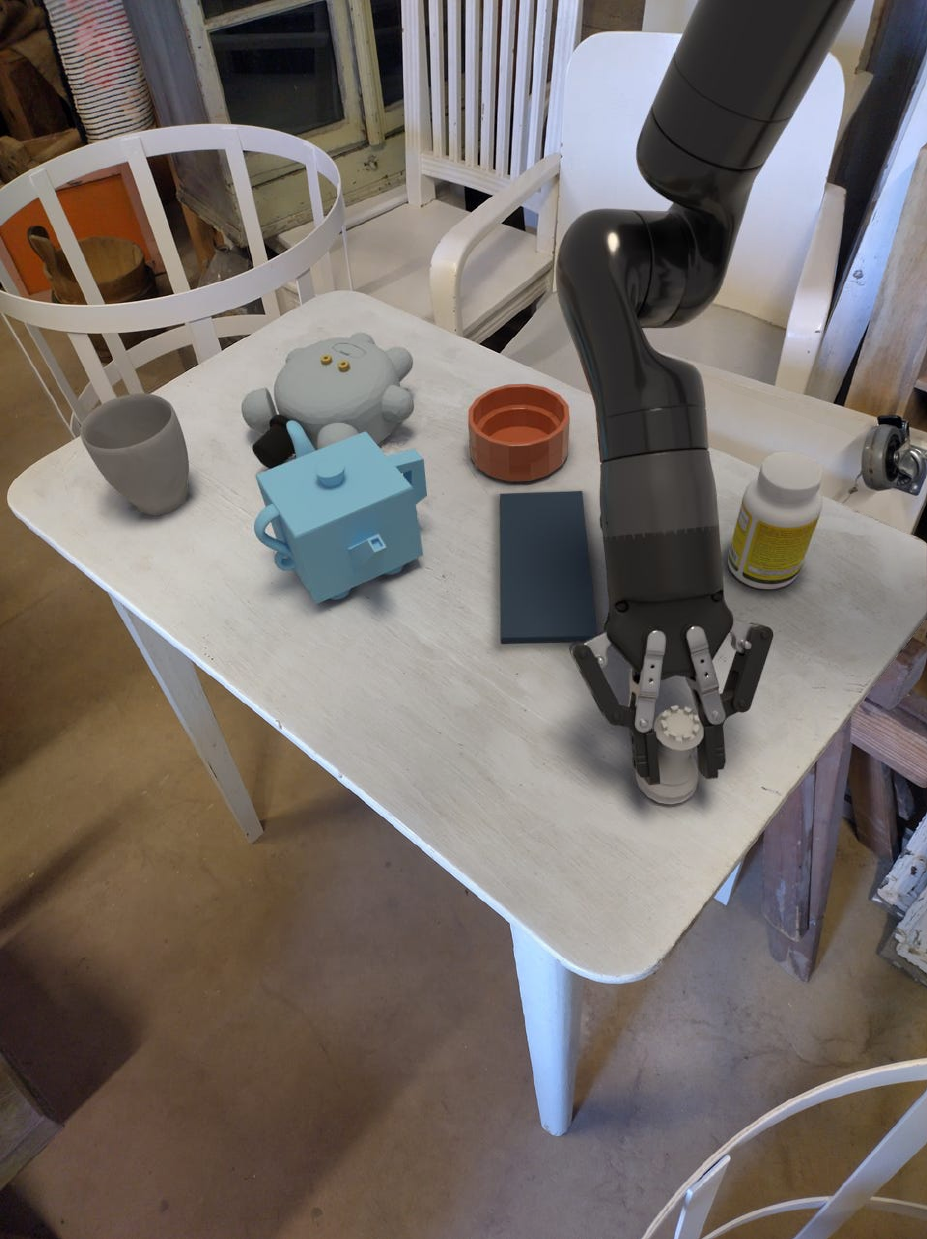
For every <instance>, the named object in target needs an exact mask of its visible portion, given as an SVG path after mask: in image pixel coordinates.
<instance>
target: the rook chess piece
mask: <svg viewBox="0 0 927 1239" xmlns="http://www.w3.org/2000/svg"><path fill="white" fill-rule="evenodd" d="M692 711H693V709H692V708H690V707H689V706H686V705H685V706H684V708H683V709H682V708H679V705H672V706H670V708H669V709H665V710H664V711H662V712H661V713H659V714H658V715H657V717H656V718H655V720H654V721H653V730H654V731H655V732H656V736H657V748H658V760H659V772H660V784H659V785H650V786H649V785H648V784H647V782H646V781H645V780H644V778H641V777H640V776H639V775H638V773H637V772H636V771H635V779H636V782H637V785H638V788H639V789H640V790H641V791H642V793H644V795H646V797H647V798H649V799H651V800H653V801H655V802H656V803H659V804H665V805H666V804H667V805H676V804H679V803H684V802H685V801H687V800H688V799H689V798H690V797H692V796H693V795H694V794H695V791H696V790H697V787H698V781H699V767H698V763H697V762H696V760H695V757H693V755H692V754H694V752H695V751H696V750H697V745H698V744H699V743H700V742H701V740H702V738H703V731H704V729H703V726H702V724H701V721H700V719H699V717H698V714H694V713H692Z"/></svg>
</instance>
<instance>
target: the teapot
mask: <svg viewBox="0 0 927 1239" xmlns="http://www.w3.org/2000/svg"><path fill="white" fill-rule="evenodd" d="M286 426H287V430H288V433H289V435H290V437H291V439H292V442H293V445H294V448H295V453H296V454H295V457H296V458H295V459H292V460H289V461H287V462H284V463H283V464H282V465H279V466H277V467H274V468H272V469H267V470H265V471H262V472H260V473H258V474H256V475H255V479H256V482H257V486H258V488H259V491H260V494H261V497H262V500H263V503H264V506H265V507H264V508H263V509H262V510H260V512H259V513H258V514H257V516H256V518H255V519H254V523H253V531H254V534H255V536H256V538H257V539H258V541H259V542H260V543H262V545H264V546H265V547H267V548H268V549H270V550H273V551H275V554H274V559H273V560H274V564H275V566H276V567H277V568H279V570H281V571H291V570H294V571H295V573H296V574H297V576H298V578H299V579H300V581H301V583H302V584H303V586H304V587H305V589H306V590H307V592H308V594H309V596H310V597H311V599H312V600H313V602H314V603H315V605H318V604H320V603H322V602H325V601H327V600H329V599H330V600H341V599H343V598H346V597H347V595H349V593H350V591H351V589H353V588H355V587H357V586H360V585H362V584H364V583H366V582H368V581H371V580H373V579H376V578H377V577H380V576H383V575H390V576H391V575H396V574H398V573H400V572H401V571H402V570H403V569H404V565H406V564H408V563H411V562H412V561H415V560H417V559H419V558H421V557H423V556H424V550H423V542H422V538H421V530H420V524H419V523H420V522H419V516H418V510H417V505H418V504H419V503H420V502H422V500H424V499H425V498H426V497H427V496H428V491H427V479H426V470H425V469H426V467H425V458H423V456H422V455H421V454H420V453H419V452H418V450H416V448H412V449H408V450H404V451H399V452H395V453H391V454H387V455H386V453H385V452H384V451H383V450H382V449H381V447H380V446H379V444H376V443H375V442H374V441H373V439H372V438H371V437H370V436H369V435H368V433H367V432H363V433H360V434H357V435H355V436H352V437H350V438H347V439H345V440H342V441H340V442H337V443H334V444H332V445H329V446H327V447H324V448H322V449H319V450H317V451H315V449H314V447H313V446H312V444H311V442H310V441H309V439H308V437H307V435H306V433H305V432H304V430H303V428H302V427H301V426H300V425H299V424H298V423H297V422H295V421H288V422H287V425H286ZM269 525H271V527H272V530H273V533H274V535H275V537H274V536H271V535H269V534H268V533H267V532H266V529H267V527H268V526H269Z"/></svg>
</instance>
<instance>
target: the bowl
mask: <svg viewBox="0 0 927 1239" xmlns="http://www.w3.org/2000/svg"><path fill="white" fill-rule="evenodd" d="M467 415H468V416H467V424H468V425H467V426H468V439H469V452H470V458H471V460H472V462H473V463H474V465H475V466H476V467H477V469H478V470H480V471H481V472H483V473H484V474H486V475H487V476H489V477H490V478H493V479H498V480H502V481H506V482H510V483H511V482H531V481H534V480H537V479H540V478H545V477H547V476H549V475H551V474H552V473H553V472H555V471H556V470H558V469H559V468H560V467H562V466H563V464H564V463H565V460H566V458H567V456H568V455H569V443H570V442H569V441H570V420H571V416H570V415H571V414H570V407H569V404H568V403H567V402H566V400H564V398H563V397H562V396H561V394H559V393H557V392H555V391H553V390H552V389H550V388H548V387H546V386H542V385H537V384H531V383H510V384H509V383H508V384H505V385H501V386H498V387H494V388H491V389H489V390H487V391H486V392H484V393H483V394H480V395H479V396H478V397H476V398H475V400H474V401H473V402H472V404H471V406H470V407H469V408H468V413H467Z"/></svg>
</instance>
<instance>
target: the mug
mask: <svg viewBox="0 0 927 1239" xmlns="http://www.w3.org/2000/svg"><path fill="white" fill-rule="evenodd" d="M79 435H80V438H81V440H82V444H83V446H84V448H85V450H86V452H87V453H88V455H89V457H90V459H91V460H92V461H93V463H94V465H95V466H96V468H97V469H98V471H99V472H100V474H101V475H102V476H103V478H104V479H105V480H106V481H107V482H108V484H109V485H110V486H111V487H112V488H113V489H114V490H115V491H116V493H118V494H119V495H120V496H121V497H122V498H123V499H126V500H127V501H128V502H129V503H130V504H132V505H133V506H135V507H136V508H137V510H139V511H140V512H141V513H143V514H146V515H150V516H159V515H164V514H168V513H171V512H173V511H175V510H177V509H178V508H180V507H181V506H182V505H183V504H184V503H185V501H186V500H187V498H188V496H189V487H188V486H189V478H190V460H189V452H188V447H187V444H186V443H187V442H186V440H185V436H184V432H183V429H182V426H181V424H180V421H179V418H178V416H177V412H176V411H175V409H174V407H173V406H172V404H171V403H170V401H168V400H167V399H165V398H164V397H162V396H159V395H156V394H152V393H131V394H125V395H121V396H118V397H115V398H112V399H109V400H107V401H106V402H104V403H101V404H99V405H98V406H96V408H94V409H93V410H92V411H90V413H88V415H87V416H86V417H85V418H84V420H83V421H82V423H81V426H80V430H79Z"/></svg>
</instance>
